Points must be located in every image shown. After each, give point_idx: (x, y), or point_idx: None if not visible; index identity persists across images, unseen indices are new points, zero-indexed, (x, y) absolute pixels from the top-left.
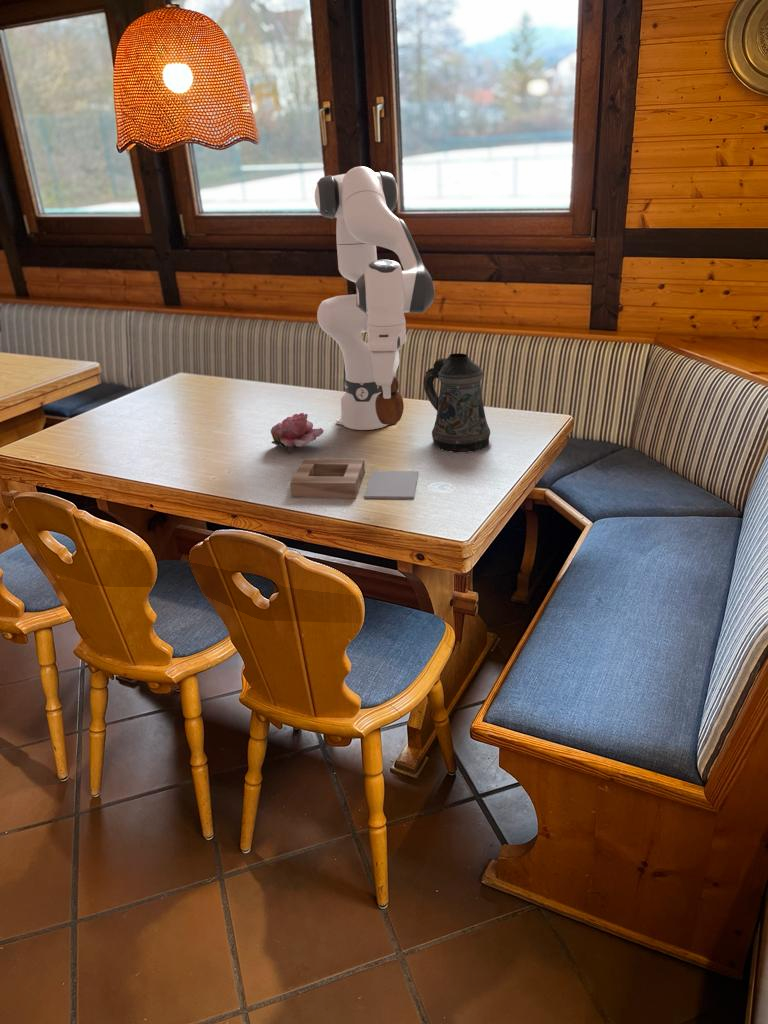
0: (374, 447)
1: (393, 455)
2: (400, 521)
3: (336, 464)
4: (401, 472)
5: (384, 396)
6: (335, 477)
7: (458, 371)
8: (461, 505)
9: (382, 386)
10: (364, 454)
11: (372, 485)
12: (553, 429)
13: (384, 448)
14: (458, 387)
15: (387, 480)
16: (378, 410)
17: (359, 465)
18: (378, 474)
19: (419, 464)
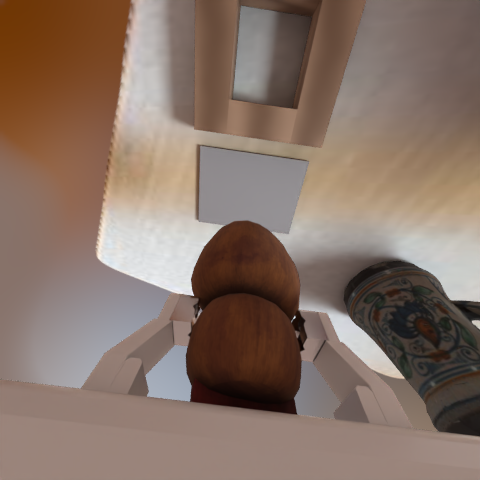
0: (438, 165)
1: (377, 199)
2: (128, 199)
3: (305, 74)
4: (289, 210)
5: (168, 301)
6: (224, 77)
7: (471, 430)
8: (182, 268)
9: (115, 348)
10: (410, 144)
11: (243, 160)
12: (375, 366)
13: (421, 185)
14: (431, 384)
15: (260, 187)
16: (213, 237)
17: (285, 137)
18: (289, 172)
19: (322, 235)
